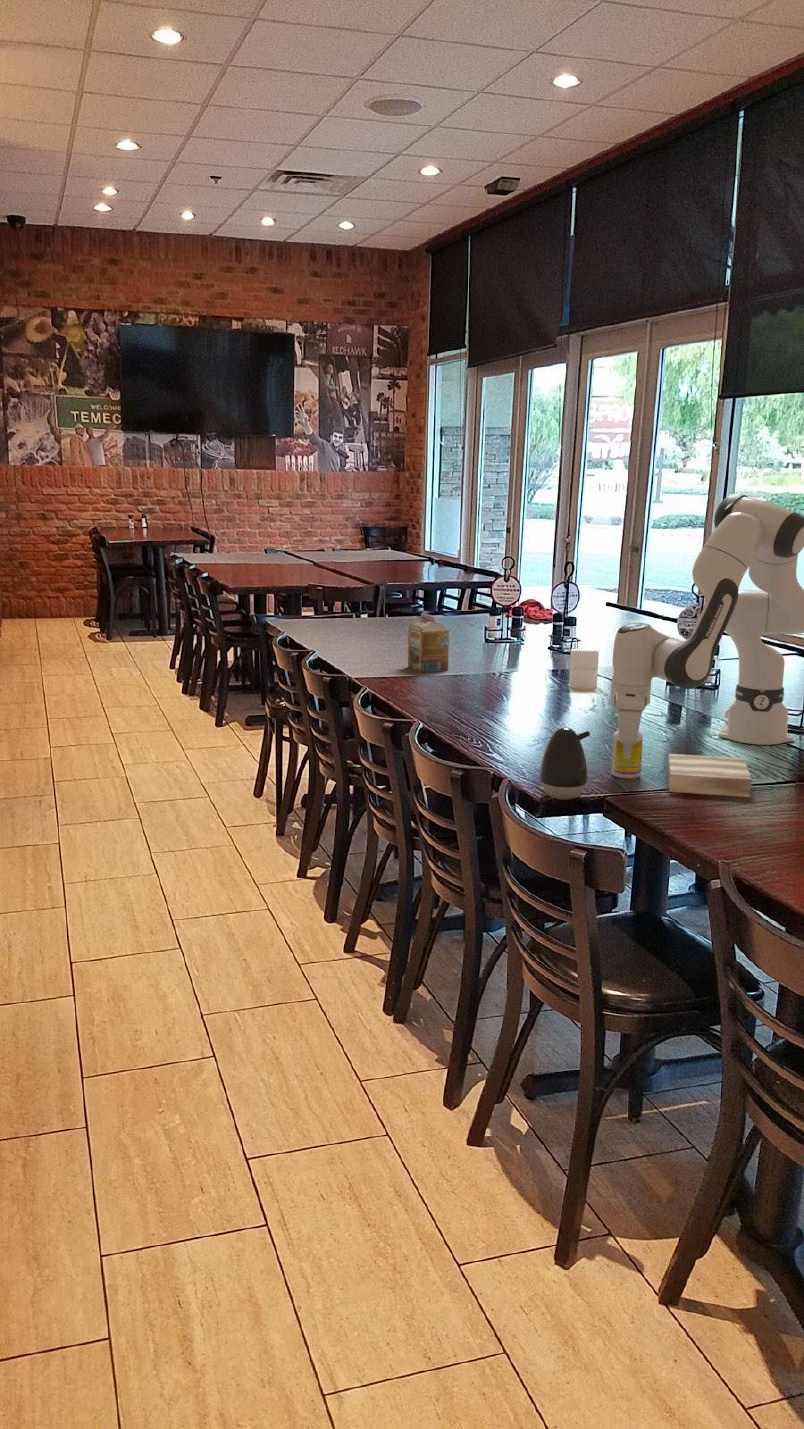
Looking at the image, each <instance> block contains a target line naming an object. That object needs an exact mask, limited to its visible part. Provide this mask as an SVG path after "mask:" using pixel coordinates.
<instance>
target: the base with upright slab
mask: <svg viewBox="0 0 804 1429" xmlns="http://www.w3.org/2000/svg"><path fill="white" fill-rule="evenodd" d="M599 652H600V650H599V649H587V648H585V649H584V648H583V649H582V648H580V649H579V648H576V649H575V648H570V655H569V656H570V659H569V676H568V677H569V678H568V686H569V688H572V689H577V690H594V689H598V676H599V675H598V672H599V655H600V654H599Z"/></svg>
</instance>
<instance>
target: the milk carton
mask: <svg viewBox="0 0 804 1429" xmlns="http://www.w3.org/2000/svg"><path fill="white" fill-rule="evenodd" d="M407 629H408V632H407V633H408V636H407V637H408V639H407V640H408V642H407V645H408V646H407V648H408V649H407V652H408V653H407V654H408V655H407V656H408V657H407V658H408V659H407V668H410V669H411V670H414V671H416V672H420V673H427V672H439V671H440V672H441V671H448V670H449V654H450V653H449V652H450V651H449V649H450V648H449V644H450V643H449V642H450V641H449V640H450V638H449V637H450V636H449V635H450V634H449V632H450V630H449V629H448V628H447V627H446V626H445V625H443V623H441V622H439V621H437V616H435V615H431V614H427V613H421V617H420V618H418V619H416V620H415V621H414V622H412V624H410V626H408V628H407Z"/></svg>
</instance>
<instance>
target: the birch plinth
mask: <svg viewBox="0 0 804 1429" xmlns="http://www.w3.org/2000/svg"><path fill="white" fill-rule="evenodd" d="M667 758H668V759H667V768H666V769H667V780H668V790H669V792H670V793H680V794H681V793H685V794H698V795H699V794H700V795H713V796H715V795H716V796H729V797H743V798H744V797H745V798H751V790H752V780H753V779H752V777H751V774H750V771H749V768H748V765H747V762H746V760H745V758H744V757H729V756H713V755H711V756H710V755H697V754H695V755H694V754H681V753H680V754H679V753H668V754H667Z"/></svg>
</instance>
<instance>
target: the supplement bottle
mask: <svg viewBox="0 0 804 1429" xmlns="http://www.w3.org/2000/svg"><path fill="white" fill-rule="evenodd" d="M643 738H644V737H643V734H642V733H641V732H640V731H639V732H638V737H637V742H636V744H633V746H632V752H631V759H624V758H623V744H622V743H620V740H619V729H618V730H616V731H615V732H614V733H613V736H612V753H611V754H612V756H611V774H612V776H614V777H615V778H618V779H626V780H627V779H632V780H633V779H638V778H639V777H640V776H641V773H642V772H641V771H642V759H643V758H642V756H643V742H644V740H643Z"/></svg>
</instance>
